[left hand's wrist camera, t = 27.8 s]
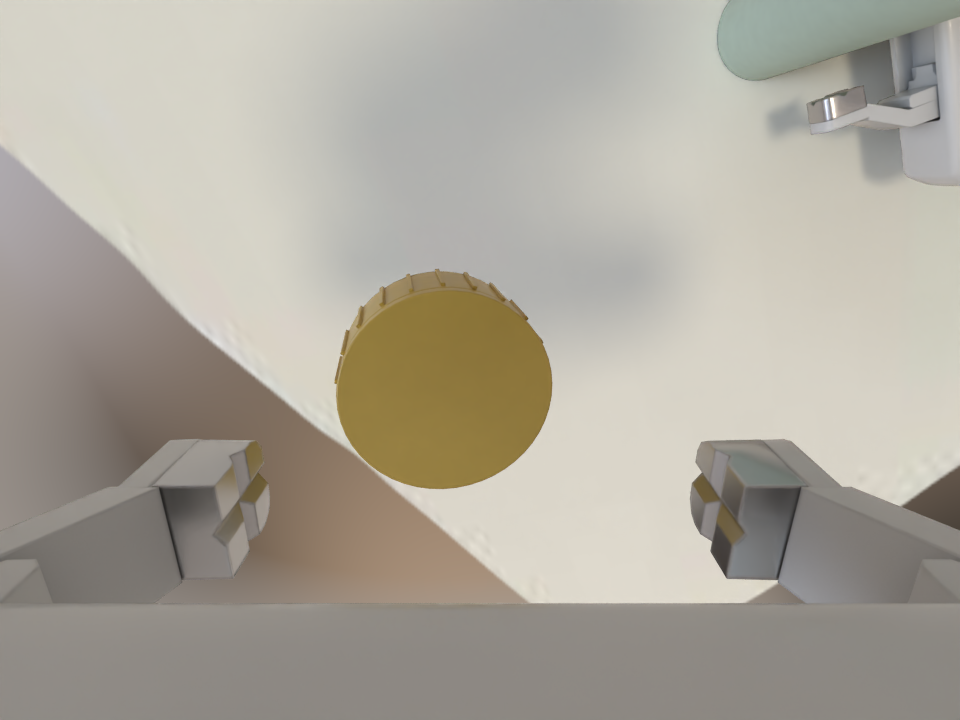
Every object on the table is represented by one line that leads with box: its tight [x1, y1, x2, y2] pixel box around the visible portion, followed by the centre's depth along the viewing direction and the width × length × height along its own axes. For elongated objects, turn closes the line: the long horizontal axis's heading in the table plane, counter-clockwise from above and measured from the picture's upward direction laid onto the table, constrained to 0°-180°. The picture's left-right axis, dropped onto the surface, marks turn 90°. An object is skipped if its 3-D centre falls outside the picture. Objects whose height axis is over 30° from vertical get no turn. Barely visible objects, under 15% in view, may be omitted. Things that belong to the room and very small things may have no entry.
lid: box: [335, 269, 552, 489], centre depth 15 cm, size 6×6×2 cm
